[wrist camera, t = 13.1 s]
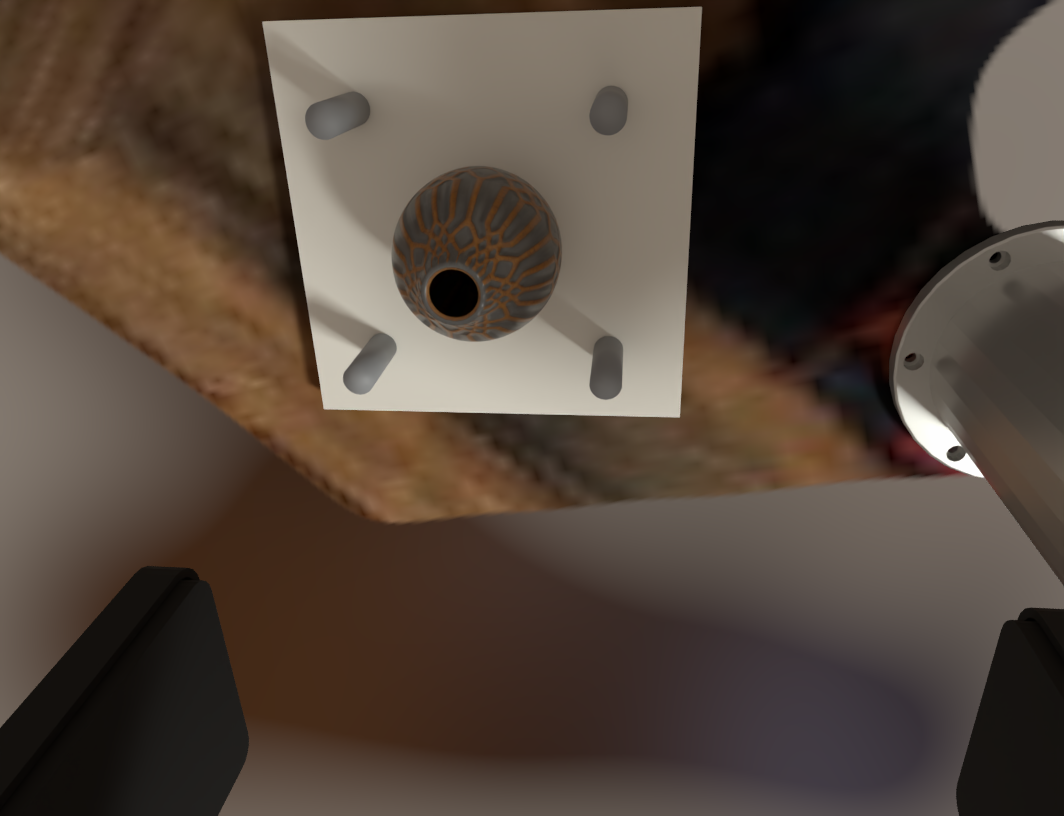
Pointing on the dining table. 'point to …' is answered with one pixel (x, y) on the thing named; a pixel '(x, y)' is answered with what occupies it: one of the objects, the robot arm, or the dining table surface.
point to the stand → (517, 147)
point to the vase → (476, 253)
